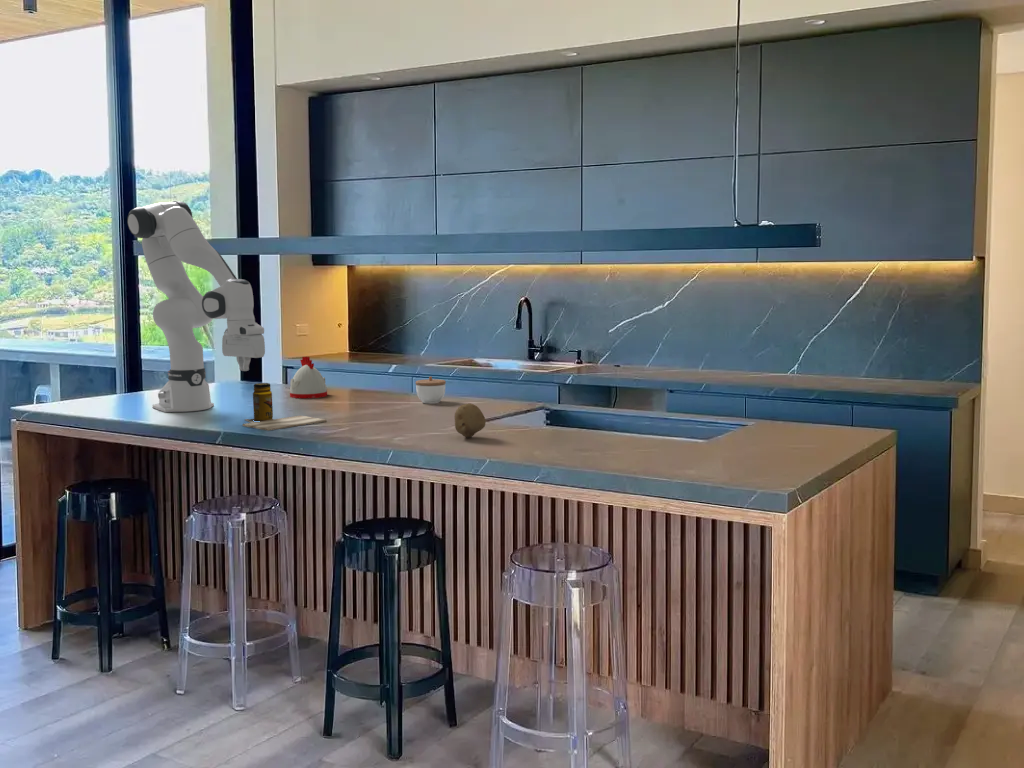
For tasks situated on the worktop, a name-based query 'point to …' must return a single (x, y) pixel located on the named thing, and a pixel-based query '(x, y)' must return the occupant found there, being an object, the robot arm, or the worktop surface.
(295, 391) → the kitchen timer
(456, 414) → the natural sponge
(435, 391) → the lidded jar
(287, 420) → the wooden cutting board
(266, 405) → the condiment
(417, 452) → the worktop surface
